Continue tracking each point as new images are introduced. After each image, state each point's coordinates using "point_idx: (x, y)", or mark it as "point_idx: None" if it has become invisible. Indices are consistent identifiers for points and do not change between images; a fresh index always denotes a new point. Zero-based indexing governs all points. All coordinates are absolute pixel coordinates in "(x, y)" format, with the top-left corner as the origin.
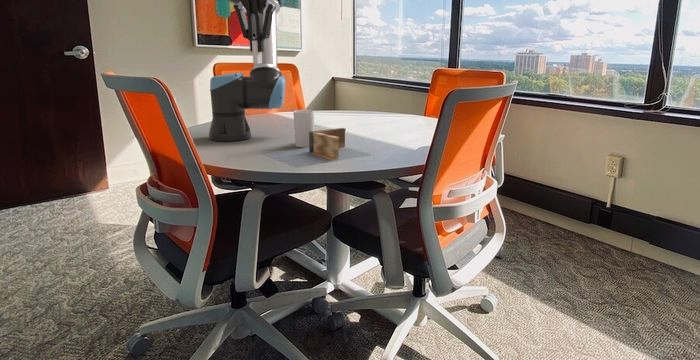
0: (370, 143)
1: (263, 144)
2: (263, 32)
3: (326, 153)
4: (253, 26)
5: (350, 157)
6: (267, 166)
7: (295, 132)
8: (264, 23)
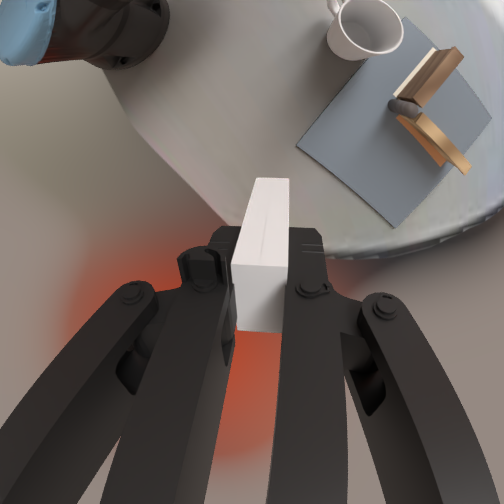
0: (462, 4)
1: (238, 44)
2: (364, 396)
3: (431, 144)
4: (208, 435)
5: (466, 144)
6: (343, 222)
7: (340, 49)
8: (387, 476)
